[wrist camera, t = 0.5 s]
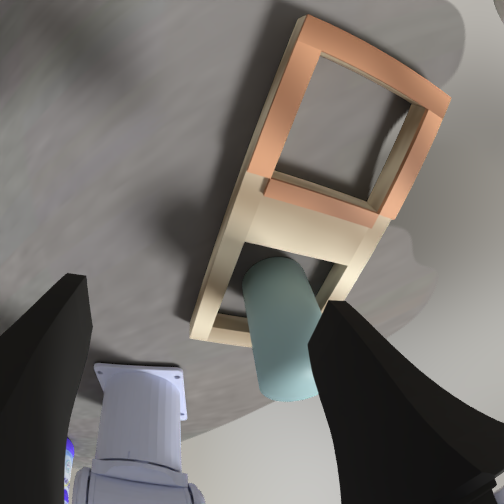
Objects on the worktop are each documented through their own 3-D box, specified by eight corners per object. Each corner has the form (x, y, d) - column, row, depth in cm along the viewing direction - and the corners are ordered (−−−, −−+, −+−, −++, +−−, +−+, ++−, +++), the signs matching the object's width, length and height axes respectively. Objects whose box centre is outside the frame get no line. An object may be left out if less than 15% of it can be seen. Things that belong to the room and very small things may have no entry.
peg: (298, 306, 24) (329, 397, 17) (239, 307, 23) (254, 404, 16) (311, 257, 21) (353, 349, 15) (245, 256, 21) (265, 355, 14)
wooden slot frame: (304, 339, 26) (309, 356, 24) (189, 323, 23) (189, 341, 22) (433, 92, 16) (451, 97, 14) (298, 18, 13) (308, 14, 12)
